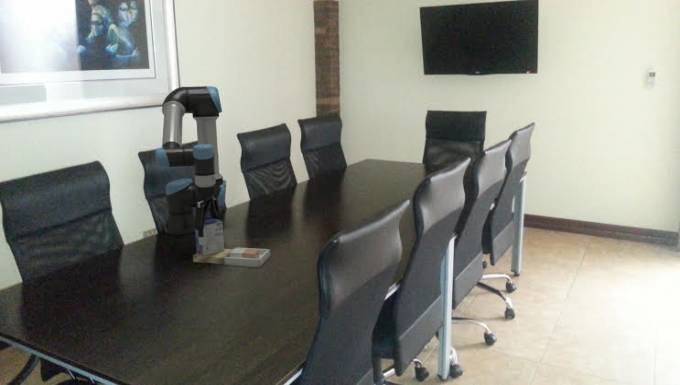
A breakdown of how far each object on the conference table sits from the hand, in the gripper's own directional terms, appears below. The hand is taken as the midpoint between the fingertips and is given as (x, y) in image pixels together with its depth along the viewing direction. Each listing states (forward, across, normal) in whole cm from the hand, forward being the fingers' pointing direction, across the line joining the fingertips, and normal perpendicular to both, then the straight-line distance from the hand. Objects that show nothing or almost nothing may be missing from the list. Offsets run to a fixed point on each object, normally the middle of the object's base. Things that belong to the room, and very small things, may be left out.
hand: (209, 239), depth 217 cm
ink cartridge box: (+5, 0, 0) cm, 5 cm away
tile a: (+7, 0, -12) cm, 13 cm away
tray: (+8, 0, -16) cm, 17 cm away
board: (+8, 0, -2) cm, 8 cm away
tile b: (+7, 0, -17) cm, 18 cm away
